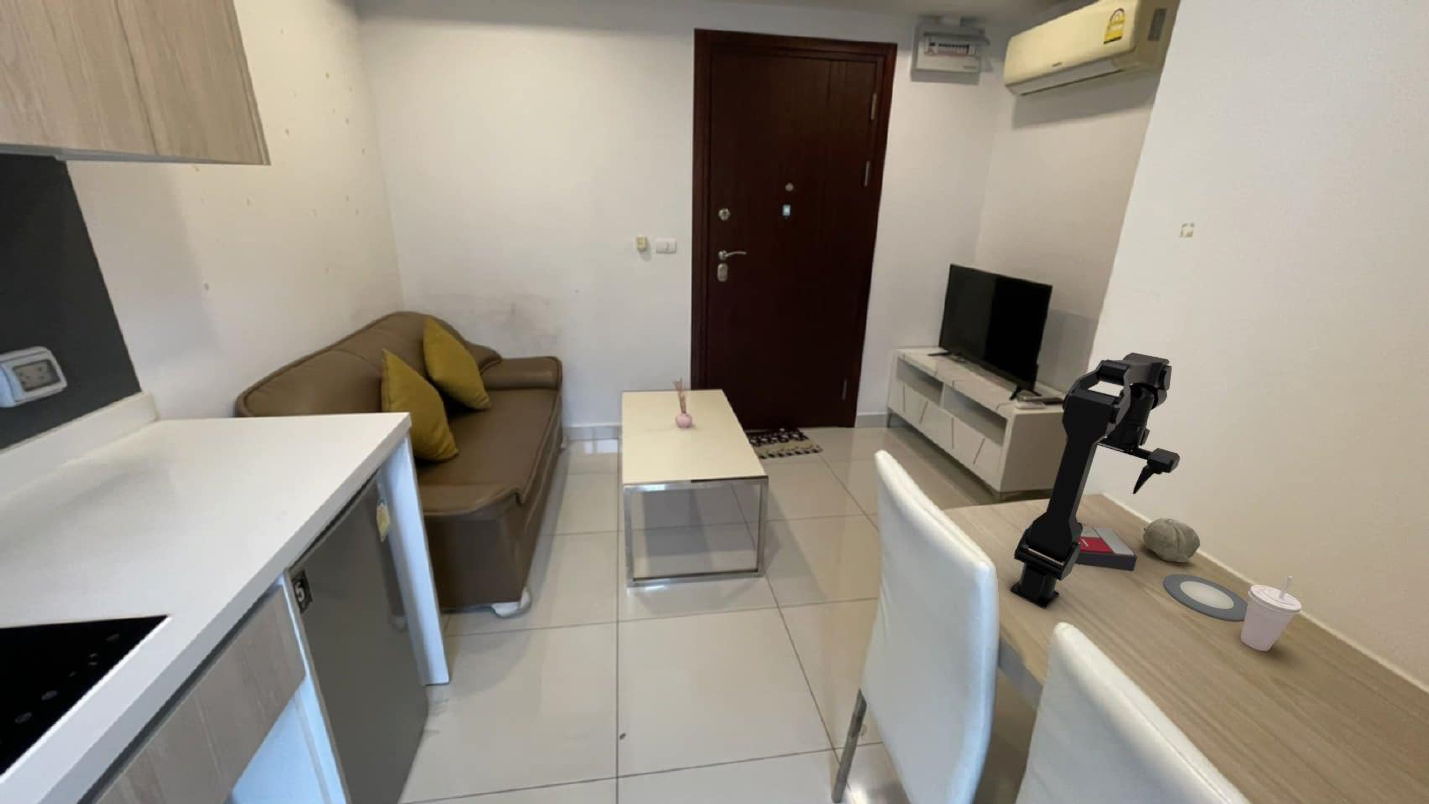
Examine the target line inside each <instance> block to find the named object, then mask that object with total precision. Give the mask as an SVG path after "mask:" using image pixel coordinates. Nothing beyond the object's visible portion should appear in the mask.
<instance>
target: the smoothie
mask: <svg viewBox="0 0 1429 804" xmlns="http://www.w3.org/2000/svg"><path fill="white" fill-rule="evenodd" d="M1292 579H1293V576H1291V575H1287V576H1286V579H1285V582H1284V583H1283V586H1282V588H1281V589H1278V588H1275V587H1272V586H1269V585H1262V584H1255V585H1252V586H1250V588H1249V590H1248V591H1247V593H1248V595H1249V598H1248V602H1247V603H1248V607H1247V611H1246V616H1245V620H1243V625H1242V630H1241V634H1240V640H1241V641H1242V643H1243V644H1244V645H1247V646H1248V647H1249V648H1251V649H1254V650H1256V651H1260V652H1261V651H1262V652H1268V651H1270V649H1271V648H1272V646H1273V644H1275V642H1276V641H1277V639H1278V638H1279V637H1280V635H1281V634H1282V633H1283V632H1284V631H1285V629H1286V627H1287V626H1288V625H1289V623H1290V622H1291V621H1292V619H1293V618H1294V616H1295V615H1298V614H1299V613H1300V612H1301V609H1302V603H1301V602H1300V601H1299V600H1298V599H1297V598H1295V597H1294V596H1292V595H1290V594H1289V593H1286V592H1287V591H1288V588H1289V587H1290V584H1291V582H1292Z"/></svg>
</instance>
